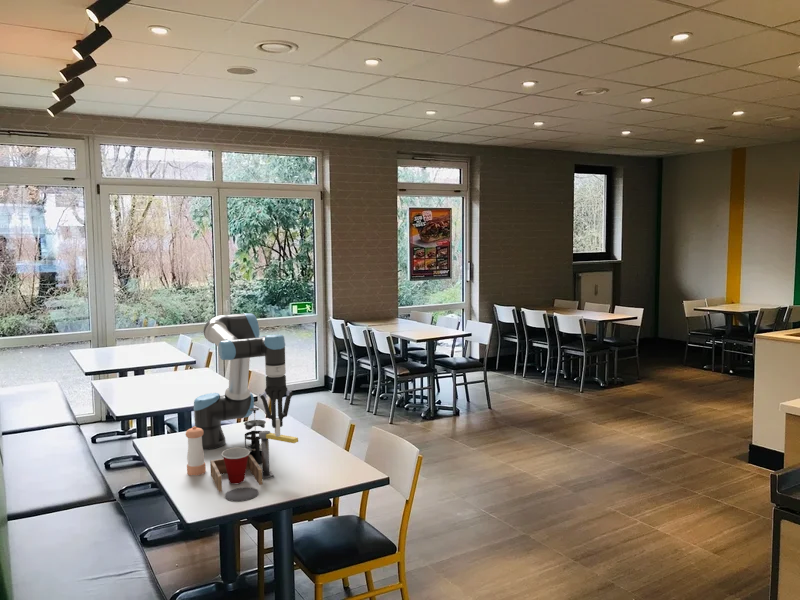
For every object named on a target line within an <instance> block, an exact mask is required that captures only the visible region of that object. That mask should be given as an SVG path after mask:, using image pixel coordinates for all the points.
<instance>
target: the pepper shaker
mask: <svg viewBox="0 0 800 600" xmlns="http://www.w3.org/2000/svg"><path fill="white" fill-rule="evenodd" d="M203 433H204V432H203V430H202V429H201V428H196V427H195V425H194V426H192V427H191V428H188V429H187V430H186V432H185V437H186V438H187V456H186V457H187V458H186V460H187V464H186V471H187V473H186V474H187V475H189V476H192V475H195V476H199V475H200V476H201V475H204V474H206V472H207V470H206V466H207V465H206V462H205V454H204V453H205V452H204V450H203V447H202V436H203Z"/></svg>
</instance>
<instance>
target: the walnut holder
mask: <svg viewBox="0 0 800 600" xmlns="http://www.w3.org/2000/svg"><path fill="white" fill-rule="evenodd" d="M209 464H210V476H211V479H212V480H213V483H214V485H215V487H216V489H217V491H218V492H219V493H222V492H223V483H222V482H223V480H222V475H225V474H226V475H228V474H227V471H226V466H225V461H224V458H217V459H212V460H210V461H209ZM261 467H262V466H260V464H258V463H257V462H256V461H255V459H254V458H253V456H252V455H251V454H250V455H248V459H247V467H246V471H249V472H250V473H251V475H252V477H254V479H255V481H256V482H257V484H258V485H259V486H262V485H263V479H262V473H263V472H262V468H261Z"/></svg>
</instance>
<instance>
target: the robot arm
mask: <svg viewBox="0 0 800 600" xmlns="http://www.w3.org/2000/svg"><path fill="white" fill-rule="evenodd" d="M258 322H259V321H258V319H257V316H256V315H255V314H254V313H251V312H250V313H246V312H243V313H234V314H232V313H231V314H219V315H216V316H213V317H211V318H210V319H209V320H208V321H207V322H206V323H205V325H204V327H203V335H204V338H205V340H207V341H208V342H209V343H211V344H215V346H217V347H218V349H217V350H218V355H219V358H220V359H221V360H222V361H229V377H228V388H227V389H225V391H224V395H221V394H220V393H219V392H210V393H205V394H202V395H200V396H196V398H195V399H194V401H193V416H194V417H193V419H194V426H195V427H196V428H201V429H202V430H203V432H204V433H203V436H202V447H203V451H204V450H212V449H214V450H215V449H218V448H220V447H223V446H225V445H226V442H227V440H226V436H225V434H224V430H223V428H222V421H231V420H239V419H244V418H249V417H250V416H252V414H253V411H250V410H249V409H251V408H255V402H254V401H255V398H254V395H253V393H252V391H251V390H250V389H249V388H248V386H249V375H250V373H249V371H250V358H258V357H259V358H262V357H264V358H265V359H264V360H265V363H264V364H265V367H264V368H265V375H266V376H265V389H264V392H263V393H260V394H259V396H258V397H259V398H260V399H261V401H262V404H263V407H264V410H265V415H266V417H267V418H268V419H269V420H271V427H272V428H273V429H274V433H275V435H276V437H277V436H280V435H281V428H282V427H283V426H284V424H283V419H284V418H286V417H287V416H288V414H289V410H290V409H289V408H290V404H291V399H292V396H293V395H294V392H293V391H292V390H289V389H288V387H287V375H286V340H285V336H284V335H283V334H279V333H278V334H276V333H274V334H268V335H260V334H261V333H260V332H261V331H260V324H259V323H258ZM285 395H286V396H285ZM284 396H285V399H284V405H283V398H284ZM267 397H269V398H270V408H269V404H268V402H267V401H268V400H267ZM276 405H277V407H276ZM276 408H277V409H276ZM270 409H271V410H270ZM276 411H277V412H276Z"/></svg>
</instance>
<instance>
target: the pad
mask: <svg viewBox="0 0 800 600" xmlns="http://www.w3.org/2000/svg"><path fill="white" fill-rule="evenodd" d="M258 496H259V490H258V489H256V488H254V487H250V486H249V487H248V486H246V487H244V486H243V487H237V488H234V489H230V490H228V491H227V492H225V495H224V498H225V499H226V500H227V501H231V502H245V501H246V502H247V501H250V500H252V499H256V497H258Z"/></svg>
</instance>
